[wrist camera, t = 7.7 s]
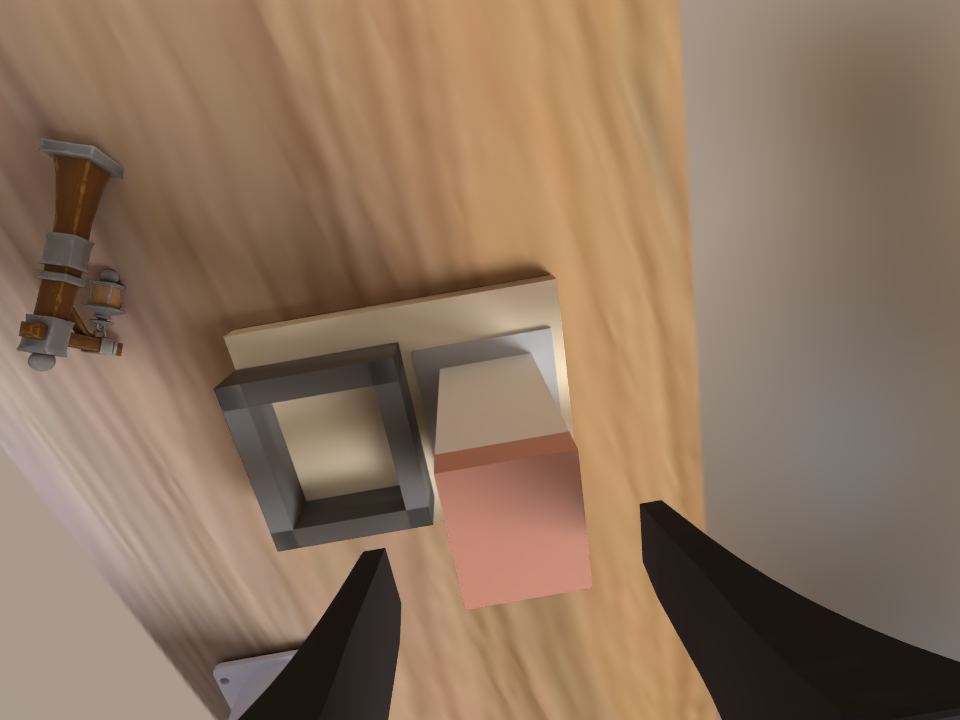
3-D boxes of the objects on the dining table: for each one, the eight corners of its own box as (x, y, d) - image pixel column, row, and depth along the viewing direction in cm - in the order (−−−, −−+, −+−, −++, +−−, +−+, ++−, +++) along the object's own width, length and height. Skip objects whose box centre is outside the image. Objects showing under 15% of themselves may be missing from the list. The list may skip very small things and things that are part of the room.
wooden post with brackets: (87, 372, 20) (-11, 367, 16) (119, 190, 21) (33, 134, 16) (132, 377, 20) (48, 373, 16) (162, 196, 21) (90, 143, 16)
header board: (575, 485, 24) (591, 525, 22) (306, 532, 24) (287, 577, 22) (551, 274, 21) (567, 288, 18) (233, 330, 21) (199, 352, 18)
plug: (544, 452, 22) (592, 587, 15) (460, 466, 22) (465, 609, 15) (531, 353, 20) (578, 448, 13) (439, 368, 20) (433, 474, 13)
